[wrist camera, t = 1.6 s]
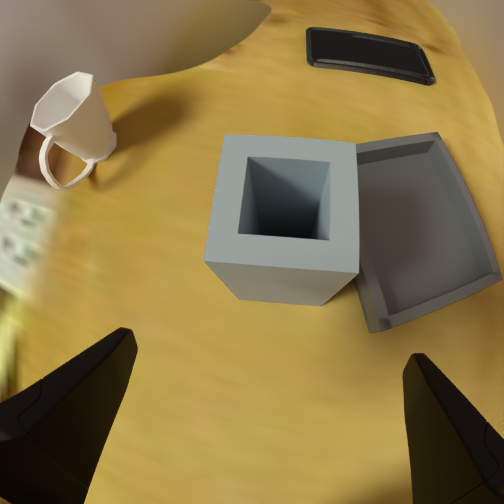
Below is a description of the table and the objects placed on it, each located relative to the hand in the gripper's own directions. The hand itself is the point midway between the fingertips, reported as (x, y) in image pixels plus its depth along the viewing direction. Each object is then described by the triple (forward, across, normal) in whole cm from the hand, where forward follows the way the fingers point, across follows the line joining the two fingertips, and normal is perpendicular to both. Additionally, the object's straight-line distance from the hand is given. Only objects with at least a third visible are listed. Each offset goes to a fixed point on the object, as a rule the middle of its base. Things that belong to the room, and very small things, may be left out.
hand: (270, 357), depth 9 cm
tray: (+16, -10, +2) cm, 19 cm away
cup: (+20, +19, -2) cm, 28 cm away
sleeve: (+14, 0, +5) cm, 14 cm away
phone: (+32, -9, -13) cm, 36 cm away
